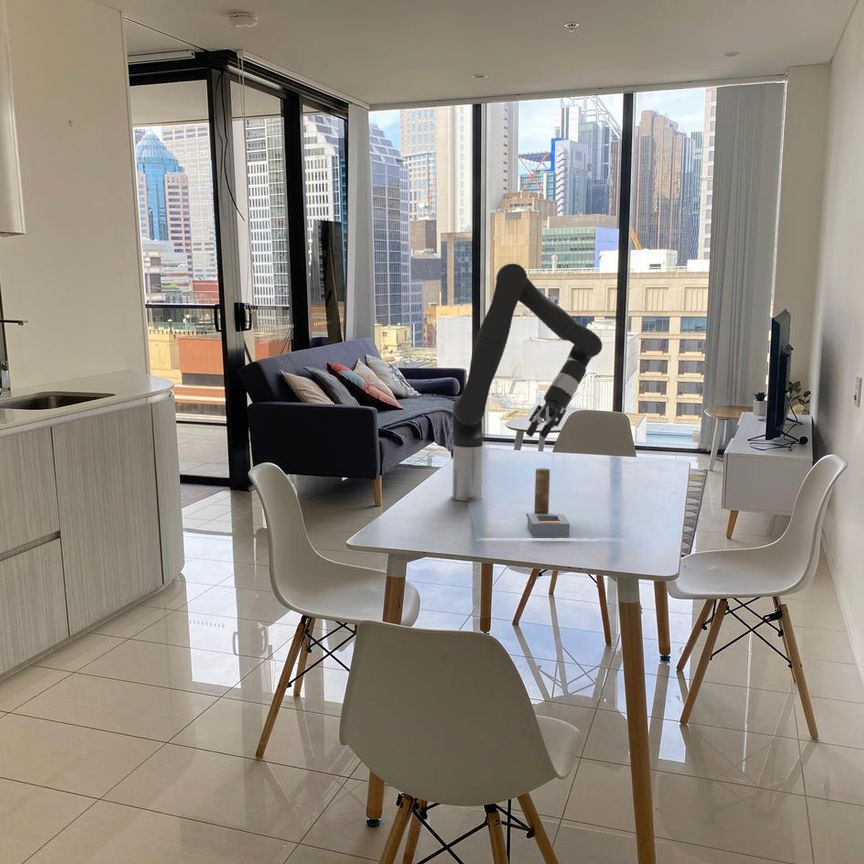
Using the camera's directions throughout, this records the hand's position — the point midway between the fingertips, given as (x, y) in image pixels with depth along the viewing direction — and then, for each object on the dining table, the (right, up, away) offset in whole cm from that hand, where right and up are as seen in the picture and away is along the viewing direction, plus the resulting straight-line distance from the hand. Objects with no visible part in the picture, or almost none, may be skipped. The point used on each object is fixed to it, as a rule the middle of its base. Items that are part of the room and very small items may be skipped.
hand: (535, 436), depth 259 cm
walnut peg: (0, -23, -11) cm, 26 cm away
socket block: (+1, -26, -23) cm, 35 cm away
